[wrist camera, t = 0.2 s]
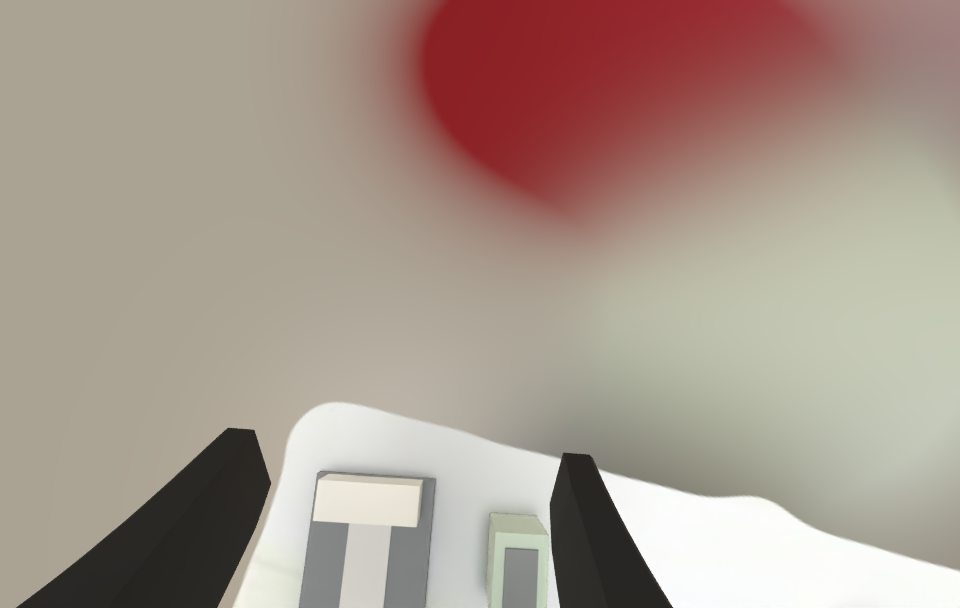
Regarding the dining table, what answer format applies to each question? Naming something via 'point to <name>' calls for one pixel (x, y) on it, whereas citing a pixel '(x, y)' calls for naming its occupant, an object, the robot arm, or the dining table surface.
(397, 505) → the mounted modules
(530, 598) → the module block
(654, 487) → the dining table surface
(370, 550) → the mounting board
